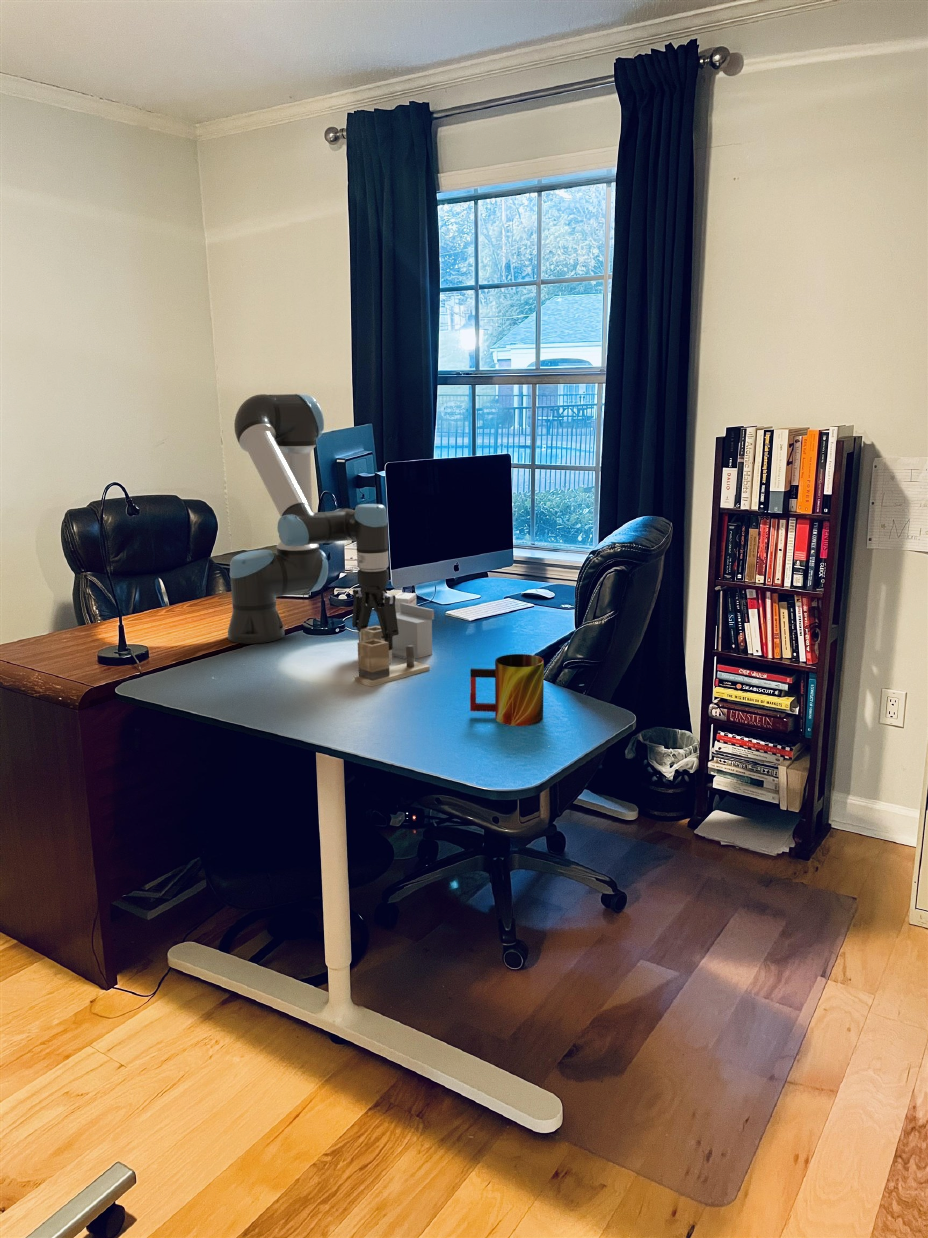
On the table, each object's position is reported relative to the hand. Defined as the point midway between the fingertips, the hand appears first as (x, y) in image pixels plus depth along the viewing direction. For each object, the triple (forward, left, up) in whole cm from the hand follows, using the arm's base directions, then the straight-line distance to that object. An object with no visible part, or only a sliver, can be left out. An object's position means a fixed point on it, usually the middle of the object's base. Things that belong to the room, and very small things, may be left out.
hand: (375, 659), depth 222 cm
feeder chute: (0, +10, 0) cm, 10 cm away
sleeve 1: (0, 0, 0) cm, 0 cm away
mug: (+53, -9, 0) cm, 54 cm away
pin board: (+13, -5, 0) cm, 14 cm away
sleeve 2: (+13, -11, +1) cm, 17 cm away
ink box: (-12, +20, 0) cm, 23 cm away
